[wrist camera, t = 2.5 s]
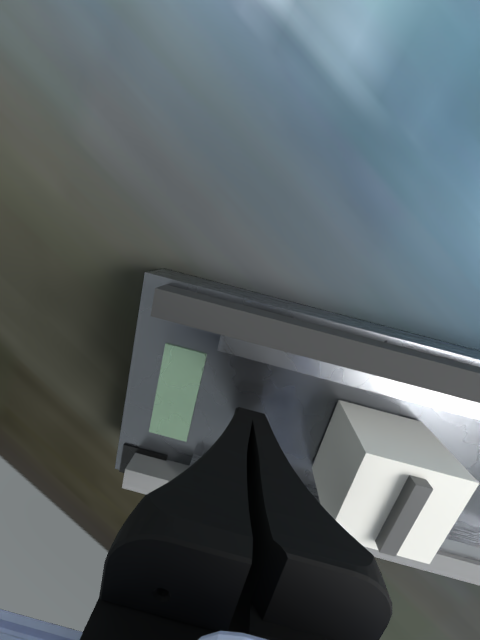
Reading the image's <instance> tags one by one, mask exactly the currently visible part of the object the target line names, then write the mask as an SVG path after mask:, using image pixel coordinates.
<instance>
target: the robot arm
mask: <svg viewBox="0 0 480 640" xmlns="http://www.w3.org/2000/svg"><path fill="white" fill-rule="evenodd" d="M391 615H392V602H391V599H390V596H389V594H388V591H387V588H386V585H385V582H384V580H383V577H382V574H381V572H380V569H379V567H378V565H377V563H376V560H375V558H374V556H373V554H372V553H370V552H369V551H368V550H367V549H366V548H365V547H364V546H363V545H362V544H360V543H359V542H358V541H357V540H356V539H355V538H354V537H353V536H351V535H350V534H349V533H348V532H347V531H346V530H345V529H344V528H343V527H342V526H341V525H340V524H339V523H338V522H337V521H336V520H335V519H334V518H333V517H332V516H331V515H330V514H329V513H328V512H327V511H326V510H325V509H324V507H323V506H322V505H321V504H320V503H319V502H318V501H317V499H316V498H315V497H314V496H313V495H312V493H311V492H310V491H309V490H308V488H307V487H306V486H305V485H304V483H303V482H302V481H301V479H300V478H299V476H298V475H297V474H296V472H295V471H294V469H293V468H292V466H291V465H290V463H289V461H288V460H287V458H286V456H285V454H284V453H283V451H282V449H281V447H280V445H279V443H278V441H277V439H276V437H275V435H274V433H273V431H272V428H271V426H270V424H269V422H268V419H267V417H266V415H265V414H264V413H260V412H256V411H252V410H249V409H245V408H241V407H238V408H236V409H235V413H234V416H233V418H232V420H231V421H230V423H229V425H228V426H227V428H226V429H225V431H224V432H223V433H222V435H221V436H220V437H219V438H218V440H217V441H216V442H215V443H214V444H213V445H212V447H211V448H210V449H209V450H208V451H207V452H206V453H205V454H204V455H203V456H202V457H201V458H199V459H198V460H197V461H196V462H195V463H194V464H193V465H191V466H190V467H189V468H188V469H186V470H185V471H184V472H182V473H181V474H179V475H178V476H177V477H175V478H174V479H172V480H171V481H169V482H168V483H166V484H164V485H163V486H161V487H159V488H157V489H155V490H154V491H152V492H150V493H148V494H146V495H145V497H144V498H143V499H142V500H141V501H140V503H139V504H138V505H137V506H136V508H135V509H134V510H133V511H132V513H131V514H130V515H129V517H128V518H127V520H126V521H125V523H124V524H123V526H122V527H121V529H120V531H119V532H118V534H117V536H116V538H115V540H114V542H113V544H112V546H111V548H110V550H109V552H108V554H107V558H106V560H105V564H104V570H103V577H102V583H101V590H100V596H99V599H98V601H97V604H96V606H95V608H94V610H93V612H92V614H91V616H90V619H89V621H88V623H87V625H86V627H85V629H84V631H83V632H80V631H77V630H74V629H70V628H66V627H63V626H60V625H56V624H52V623H48V622H45V621H41V620H38V619H34V618H31V617H27V616H24V615H20V614H16V613H13V612H9V611H6V610H2V609H0V640H379V639H380V637H381V635H382V634H383V632H384V630H385V629H386V627H387V625H388V623H389V621H390V618H391Z"/></svg>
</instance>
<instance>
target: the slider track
mask: <svg viewBox="0 0 480 640" xmlns="http://www.w3.org/2000/svg"><path fill="white" fill-rule="evenodd" d="M165 284H166V285H170V286H173V287H177V288H181V289H185V290H189V291H192V292H196V293H200V294H204V295H208V296H211V297H215V298H219V299H223V300H227V301H230V302H234V303H238V304H242V305H246V306H249V307H253V308H257V309H261V310H265V311H268V312H272V313H276V314H280V315H284V316H287V317H291V318H295V319H299V320H303V321H307V322H310V323H314V324H318V325H322V326H326V327H329V328H333V329H337V330H341V331H345V332H348V333H352V334H356V335H360V336H364V337H367V338H371V339H375V340H379V341H383V342H386V343H390V344H394V345H398V346H402V347H405V348H409V349H413V350H417V351H421V352H424V353H428V354H432V355H436V356H440V357H443V358H447V359H451V360H455V361H459V362H462V363H466V364H470V365H474V366H478V367H480V351H478V350H474V349H470V348H466V347H462V346H458V345H455V344H451V343H447V342H443V341H439V340H436V339H432V338H428V337H424V336H420V335H417V334H413V333H409V332H405V331H401V330H397V329H394V328H390V327H386V326H382V325H378V324H375V323H371V322H367V321H363V320H359V319H355V318H352V317H348V316H344V315H340V314H336V313H333V312H329V311H325V310H321V309H317V308H314V307H310V306H306V305H302V304H298V303H294V302H291V301H287V300H283V299H279V298H275V297H272V296H268V295H264V294H260V293H256V292H252V291H249V290H245V289H241V288H237V287H233V286H230V285H226V284H222V283H218V282H214V281H211V280H207V279H203V278H199V277H195V276H191V275H188V274H184V273H180V272H176V271H172V270H169V269H159V270H154V271H148V272H145V275H144V281H143V288H142V294H141V301H140V307H139V314H138V320H137V327H136V334H135V340H134V347H133V353H132V360H131V366H130V373H129V379H128V386H127V393H126V399H125V406H124V412H123V419H122V425H121V432H120V438H119V445H118V451H117V458H116V465H115V469H118V470H119V472H123V473H125V469H126V467H127V465H128V464H129V462H130V461H131V459H132V457H133V456H134V454H135V453H138V454H142V455H146V456H149V457H153V458H157V459H161V460H164V461H167V460H170V461H174V462H178V463H181V464H185V465H189V467H190V466H191V465H193V464H194V463H195V462H196V461H197V460H198V459H199V458H201V457H202V456H203V455H204V454H205V453H206V452H207V451H208V450H209V449H210V448H211V447H212V445H213V444H214V443H215V442H216V441H217V440H218V438H219V437H220V436H221V435H222V433H223V432H224V431H225V429H226V428H227V426H228V425H229V423H230V421H231V420H232V418H233V416H234V413H235V409H236V408H238V407H241V408H245V409H249V410H252V411H256V412H260V413H264V414H265V415H266V417H267V419H268V422H269V424H270V426H271V428H272V431H273V433H274V435H275V437H276V439H277V441H278V443H279V445H280V447H281V449H282V451H283V453H284V454H285V456H286V458H287V460H288V461H289V463H290V465H291V466H292V468H293V469H294V471H295V472H296V474H297V475H298V476H299V478H300V479H301V481H302V482H303V483H304V485H305V486H306V487H307V488H308V490H309V491H310V492H311V493H312V495H313V496H314V497H315V498H316V499H317V501H318V502H319V503H320V500H319V496H318V492H317V488H316V483H315V479H314V475H313V470H312V466H313V463H314V461H315V458H316V455H317V453H318V450H319V448H320V445H321V443H322V440H323V438H324V435H325V433H326V430H327V428H328V425H329V423H330V420H331V418H332V415H333V413H334V410H335V408H336V405H337V403H338V400H341V401H345V402H349V403H353V404H356V405H360V406H364V407H368V408H371V409H375V410H379V411H383V412H386V413H390V414H394V415H398V416H402V417H405V418H409V419H413V420H417V421H420V422H423V424H424V425H425V426H426V427H427V428H428V429H429V430H430V431H431V432H432V433H433V434H434V435H435V436H436V437H437V438H438V440H439V441H440V442H441V443H442V444H443V445H444V446H445V447H446V448H447V449H448V450H449V451H450V452H451V453H452V454H453V456H454V457H455V458H456V459H457V460H458V461H459V462H460V463H461V464H462V465H463V466H464V467H465V468H466V469H467V470H468V472H469V473H470V474H471V475H472V476H473V477H474V478H475V479H476V480H477V481H478V482H479V485H478V487H477V488H476V490H475V491H474V493H473V495H472V496H471V498H470V500H469V501H468V503H467V504H466V506H465V508H464V509H463V511H462V513H461V514H460V516H459V517H458V519H457V521H456V522H455V524H454V525H453V527H452V529H451V530H450V532H449V534H448V535H447V537H446V538H445V540H444V542H443V543H442V545H441V547H440V548H439V550H438V551H442V552H446V553H449V554H453V555H457V556H460V557H464V558H468V559H472V560H475V561H479V562H480V403H477V402H473V401H469V400H465V399H462V398H458V397H454V396H450V395H446V394H443V393H439V392H435V391H431V390H428V389H424V388H420V387H416V386H412V385H409V384H405V383H401V382H397V381H394V380H390V379H386V378H382V377H378V376H375V375H371V374H367V373H363V372H360V371H356V370H352V369H348V368H344V367H341V366H337V365H333V364H329V363H326V362H322V361H318V360H314V359H310V358H307V357H303V356H299V355H295V354H292V353H288V352H284V351H280V350H276V349H273V348H269V347H265V346H261V345H258V344H254V343H250V342H246V341H242V340H239V339H235V338H231V337H227V336H224V335H220V334H216V333H212V332H208V331H205V330H201V329H197V328H193V327H189V326H186V325H182V324H178V323H174V322H171V321H167V320H163V319H159V318H155V317H152V316H151V310H152V304H153V298H154V292H155V288H157V287H160V286H163V285H165Z"/></svg>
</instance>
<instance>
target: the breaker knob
mask: <svg viewBox="0 0 480 640" xmlns="http://www.w3.org/2000/svg"><path fill="white" fill-rule="evenodd" d="M312 470H313V475H314V479H315V483H316V488H317V492H318V496H319V500H320V504H321V505H322V506H323V507H324V509H325V510H326V511H327V512H328V513H329V514H330V515H331V516H332V517H333V518H334V519H335V520H336V521H337V522H338V523H339V524H340V525H341V526H342V527H343V528H344V529H345V530H346V531H347V532H348V533H349V534H350V535H351V536H353V537H354V538H355V539H356V540H357V541H358V542H359V543H360V544H362V545H363V546H364V547H368V548H371V549H375V550H379V552H380V553H384V554H387V555H391V556H395V557H396V555H397V556H401V557H404V558H408V559H412V560H415V561H419V562H423V563H426V564H430V563H431V561H432V559H433V558H434V556H435V555H436V553H437V551H438V550H439V548H440V547H441V545H442V543H443V542H444V540H445V538H446V537H447V535H448V534H449V532H450V530H451V529H452V527H453V525H454V524H455V522H456V521H457V519H458V517H459V516H460V514H461V513H462V511H463V509H464V508H465V506H466V504H467V503H468V501H469V500H470V498H471V496H472V495H473V493H474V491H475V490H476V488H477V487H478V485H479V482H478V481H477V480H476V479H475V478H474V477H473V476H472V475H471V474H470V473H469V472H468V470H467V469H466V468H465V467H464V466H463V465H462V464H461V463H460V462H459V461H458V460H457V459H456V458H455V457H454V456H453V454H452V453H451V452H450V451H449V450H448V449H447V448H446V447H445V446H444V445H443V444H442V443H441V442H440V441H439V440H438V438H437V437H436V436H435V435H434V434H433V433H432V432H431V431H430V430H429V429H428V428H427V427H426V426H425V425H424V424H423V422H420V421H417V420H413V419H409V418H405V417H402V416H398V415H394V414H390V413H386V412H383V411H379V410H375V409H371V408H368V407H364V406H360V405H356V404H353V403H349V402H345V401H341V400H338V403H337V405H336V408H335V410H334V413H333V415H332V418H331V420H330V423H329V425H328V428H327V430H326V433H325V435H324V438H323V440H322V443H321V445H320V448H319V450H318V453H317V455H316V458H315V461H314V463H313V466H312Z"/></svg>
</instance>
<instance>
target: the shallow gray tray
mask: <svg viewBox="0 0 480 640" xmlns="http://www.w3.org/2000/svg"><path fill="white" fill-rule="evenodd" d="M151 316H152V317H155V318H159V319H163V320H167V321H171V322H174V323H178V324H182V325H186V326H189V327H193V328H197V329H201V330H205V331H208V332H212V333H216V334H220V335H224V336H227V337H231V338H235V339H239V340H242V341H246V342H250V343H254V344H258V345H261V346H265V347H269V348H273V349H276V350H280V351H284V352H288V353H292V354H295V355H299V356H303V357H307V358H310V359H314V360H318V361H322V362H326V363H329V364H333V365H337V366H341V367H344V368H348V369H352V370H356V371H360V372H363V373H367V374H371V375H375V376H378V377H382V378H386V379H390V380H394V381H397V382H401V383H405V384H409V385H412V386H416V387H420V388H424V389H428V390H431V391H435V392H439V393H443V394H446V395H450V396H454V397H458V398H462V399H465V400H469V401H473V402H477V403H480V367H478V366H474V365H470V364H466V363H462V362H459V361H455V360H451V359H447V358H443V357H440V356H436V355H432V354H428V353H424V352H421V351H417V350H413V349H409V348H405V347H402V346H398V345H394V344H390V343H386V342H383V341H379V340H375V339H371V338H367V337H364V336H360V335H356V334H352V333H348V332H345V331H341V330H337V329H333V328H329V327H326V326H322V325H318V324H314V323H310V322H307V321H303V320H299V319H295V318H291V317H287V316H284V315H280V314H276V313H272V312H268V311H265V310H261V309H257V308H253V307H249V306H246V305H242V304H238V303H234V302H230V301H227V300H223V299H219V298H215V297H211V296H208V295H204V294H200V293H196V292H192V291H189V290H185V289H181V288H177V287H173V286H170V285H166V284H165V285H163V286H160V287H157V288H155V292H154V298H153V304H152V310H151ZM188 468H189V465H185V464H181V463H178V462H174V461H170V460H167V461H164V460H161V459H157V458H153V457H149V456H146V455H142V454H138V453H135V454H134V456H133V457H132V459H131V461H130V462H129V464H128V465H127V467H126V469H125V473H124V479H123V485H122V488H124V489H128V490H132V491H135V492H139V493H143V494H148V493H150V492H152V491H154V490H155V489H157V488H159V487H161V486H163V485H164V484H166V483H168V482H169V481H171V480H172V479H174V478H175V477H177V476H178V475H179V474H181V473H182V472H184V471H185V470H186V469H188ZM365 548H366V549H367V550H368V551H369V552H370V553H372V554H373V556H374V557H377V558H381V559H385V560H388V561H392V562H395V563H399V564H403V565H406V566H410V567H414V568H417V569H421V570H425V571H428V572H432V573H436V574H439V575H443V576H447V577H450V578H454V579H458V580H461V581H465V582H469V583H472V584H476V585H480V562H479V561H475V560H472V559H468V558H464V557H460V556H457V555H453V554H449V553H446V552H442V551H437V553H436V555H435V556H434V558H433V559H432V561H431V563H430V564H426V563H423V562H419V561H415V560H412V559H408V558H404V557H401V556H397V555H396V557H395V556H391V555H387V554H384V553H380V552H379V550H375V549H371V548H368V547H365Z"/></svg>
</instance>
